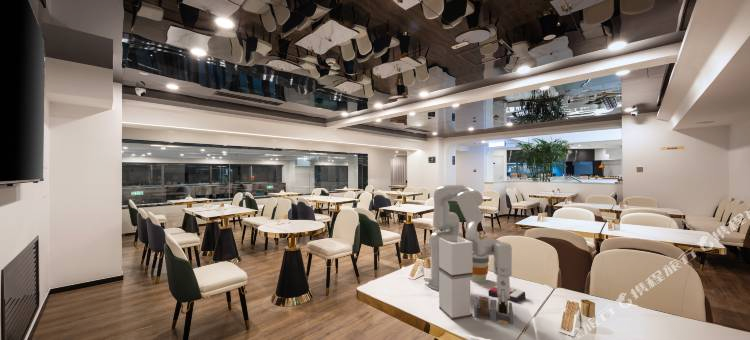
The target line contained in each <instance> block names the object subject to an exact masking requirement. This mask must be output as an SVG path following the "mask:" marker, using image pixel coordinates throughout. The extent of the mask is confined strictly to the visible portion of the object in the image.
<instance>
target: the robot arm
mask: <svg viewBox="0 0 750 340" xmlns="http://www.w3.org/2000/svg"><path fill="white" fill-rule="evenodd" d="M433 201H434V202H433V203H434V204H433V205H434V206H433V219H432V225H433V227H434V229H436V230H438V231H435V232H434V231H433V232H432V233H431V234H430V235H429V237H428V242H429V247H430V276H424V277H423V280H424V282H427V283H428V287H429V288H430V289H432V290H435V291H439V238H442V239H444V240H446V241H449V242H454V243H457V236H459V233H460V218H459V216H458V214H457V213H456V212H454V211H453V212H452V211H450V203H449V201H456V203H457V204H458V206H459V209H460V211H461V214H462V216H463V218H464V219H465V222H466V229H465V239H466V240H468V241H471V242H472V253H474V254H475V255H476V256H478V257H485V256H488V257H489V256H493V273H494V275H495V276H496V285H497V293H498V297H499V298H500V303H499V313H504V314H507V305H506V298H507V299H510V288H511V287H510V286H511V283H510V281H511V280H510V277H512V275H513V273H512V272H513V262H512V261H513V257H512V256H513V247H512V244H510V243H508V242H504V241H500V240H498V239H496V238H493V237H491V238H485V239H481V238H480V235H479V233H478V226H479V223H481V221H483V219H484V215H483V213H482V212H481V209H480V207H479V206H481V205H482V204H483V202H484V198H483V195H482V193H481V192H479V191H478V190H476V189H474V188H471V187H468V186H466V185H464V184H463V185H462V184H452V185H451V184H449V185H448V184H445V185H440V186H439V187H438V186H437V188H435V190H434V192H433ZM459 237H460V236H459ZM500 295H501V297H500ZM504 296H505V297H504ZM501 299H502V300H501Z"/></svg>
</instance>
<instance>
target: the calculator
mask: <svg viewBox="0 0 750 340" xmlns="http://www.w3.org/2000/svg"><path fill="white" fill-rule="evenodd" d="M488 297H492V298H495V299H496V298H497V299H498V293H497V284H496V285H495V286H493V287H492V288H490V289H489V290H488ZM525 300H526V291H524V290H521V289H516V288H512V287H510V299H508V302H509V301H510V302H511V303H512V302H513V303H516V304H518V303H520V302H523V301H525Z"/></svg>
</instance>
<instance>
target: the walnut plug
mask: <svg viewBox="0 0 750 340" xmlns="http://www.w3.org/2000/svg"><path fill="white" fill-rule="evenodd" d="M489 299H490V298H489V296H488V297H487V296H482V295H479V296H478V308H479V315H483V316H488V315H489V310H490V304H489V303H490V301H489Z"/></svg>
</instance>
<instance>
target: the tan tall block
mask: <svg viewBox="0 0 750 340" xmlns="http://www.w3.org/2000/svg"><path fill="white" fill-rule="evenodd" d="M500 297H501V295H500ZM504 297H505V296H504ZM501 300H502V299H501ZM499 303H500V298H499V297H498V298H497V311H498V313H499ZM506 305H507V314H505V315H508V313H509V300H508V299H507V298H506ZM499 314H504V313H499Z"/></svg>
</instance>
